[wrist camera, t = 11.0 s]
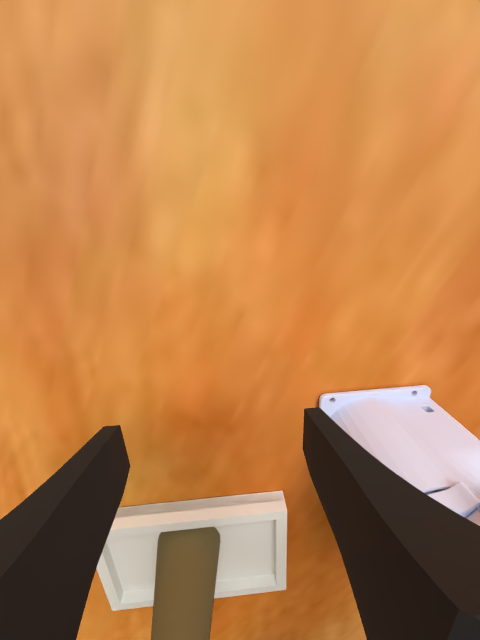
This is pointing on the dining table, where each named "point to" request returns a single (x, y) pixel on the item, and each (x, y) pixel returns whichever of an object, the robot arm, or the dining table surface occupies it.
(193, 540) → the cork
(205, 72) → the dining table surface
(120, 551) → the white tray
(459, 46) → the dining table surface
